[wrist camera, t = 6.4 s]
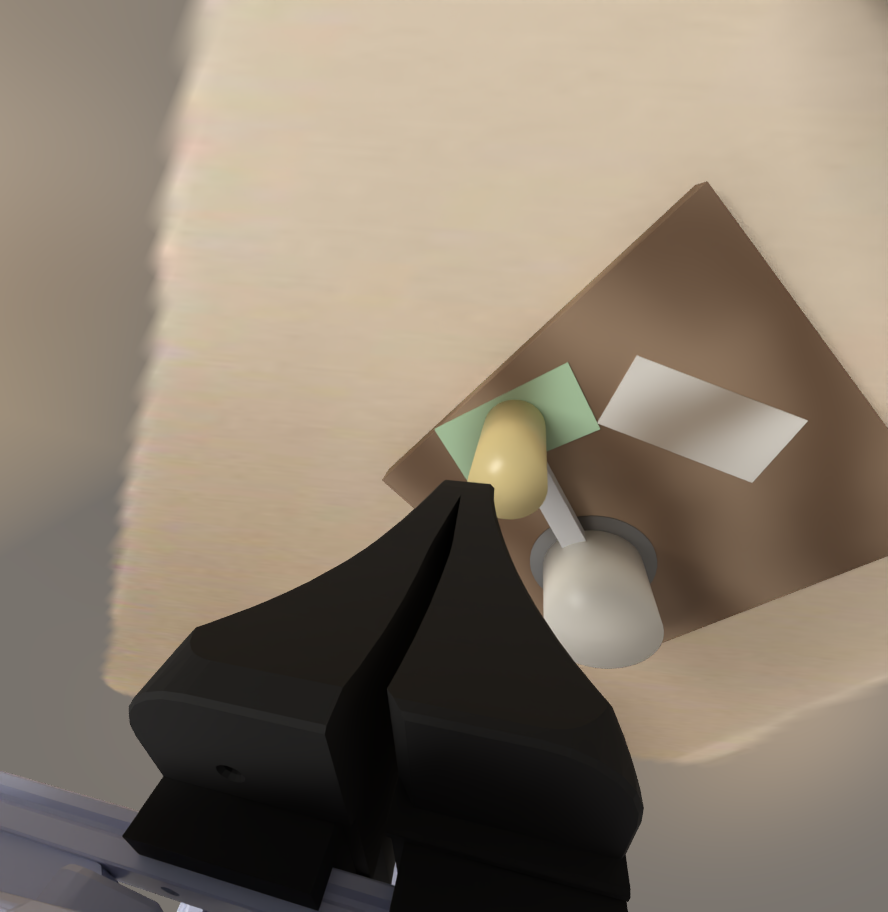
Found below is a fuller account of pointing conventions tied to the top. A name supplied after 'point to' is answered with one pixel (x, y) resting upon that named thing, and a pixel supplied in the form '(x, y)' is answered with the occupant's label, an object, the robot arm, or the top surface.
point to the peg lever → (569, 548)
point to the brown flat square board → (687, 426)
